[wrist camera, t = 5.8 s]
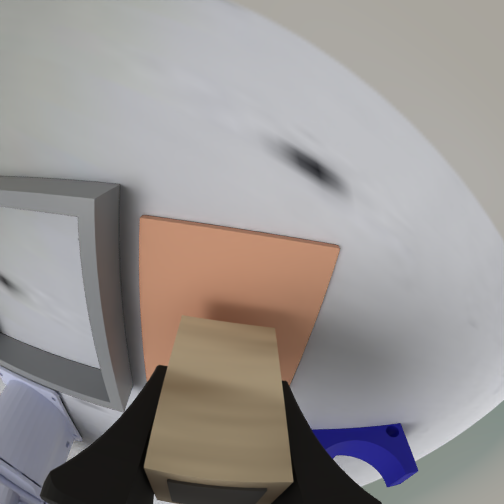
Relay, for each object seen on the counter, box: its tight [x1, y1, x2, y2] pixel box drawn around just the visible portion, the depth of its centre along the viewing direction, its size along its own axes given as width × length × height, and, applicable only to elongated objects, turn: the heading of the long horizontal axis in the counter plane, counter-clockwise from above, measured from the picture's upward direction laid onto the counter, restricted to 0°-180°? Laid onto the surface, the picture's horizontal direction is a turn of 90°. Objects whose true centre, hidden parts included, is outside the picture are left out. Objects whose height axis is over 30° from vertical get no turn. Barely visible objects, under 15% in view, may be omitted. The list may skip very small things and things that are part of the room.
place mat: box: [139, 215, 340, 386], centre depth 15 cm, size 11×9×1 cm
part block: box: [144, 315, 293, 504], centre depth 10 cm, size 4×4×7 cm
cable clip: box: [312, 423, 418, 487], centre depth 19 cm, size 12×4×6 cm, turn 78°
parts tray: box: [0, 176, 133, 412], centre depth 13 cm, size 14×14×2 cm
